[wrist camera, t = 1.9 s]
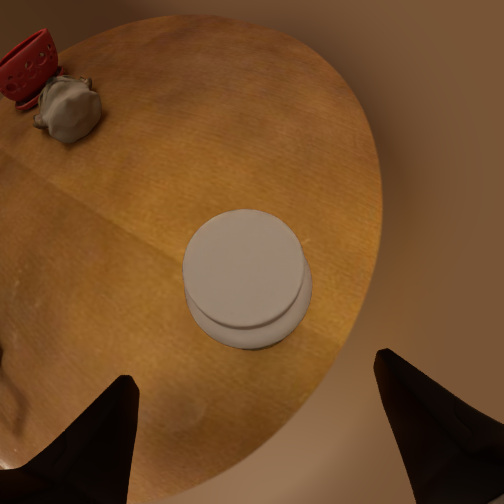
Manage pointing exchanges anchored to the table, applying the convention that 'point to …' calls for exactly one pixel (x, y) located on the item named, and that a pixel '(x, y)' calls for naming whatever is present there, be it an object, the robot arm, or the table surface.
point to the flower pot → (29, 69)
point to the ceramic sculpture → (68, 108)
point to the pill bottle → (246, 279)
